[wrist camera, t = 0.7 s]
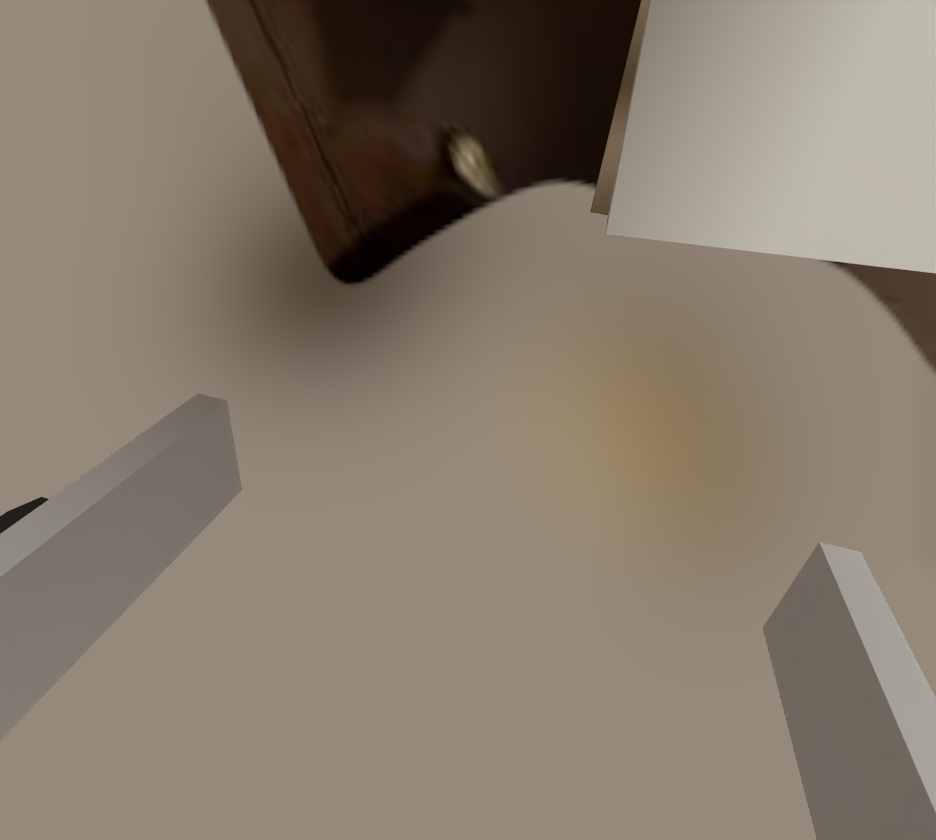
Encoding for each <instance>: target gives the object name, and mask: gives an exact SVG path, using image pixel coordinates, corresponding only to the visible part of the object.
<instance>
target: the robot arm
mask: <svg viewBox="0 0 936 840" xmlns="http://www.w3.org/2000/svg"><path fill="white" fill-rule="evenodd" d="M241 490H242V488H241V482H240V476H239V470H238V465H237V459H236V453H235V447H234V441H233V435H232V429H231V423H230V417H229V411H228V406H227V401H226V400H222V399H217V398H213V397H209V396H205V395H201V394H197V395H195V396H194V397H193V398H191V399H190V400H188V401H187V402H185V403H184V404H183V405H181V406H180V407H178V408H177V409H176V410H174V411H173V412H171V413H170V414H169V415H167V416H166V417H164V418H163V419H161V420H160V421H159V422H157V423H156V424H154V425H153V426H152V427H150V428H149V429H147V430H146V431H145V432H143V433H142V434H140V435H139V436H138V437H136V438H135V439H133V440H132V441H130V442H129V443H128V444H126V445H125V446H123V447H122V448H121V449H120V450H118V451H116V452H115V453H114V454H112V455H111V456H109V457H108V458H107V459H105V460H104V461H102V462H101V463H99V464H98V465H97V466H95V467H94V468H92V469H91V470H90V471H88V472H87V473H86V474H84V475H83V476H81V477H80V478H78V479H77V480H76V481H74V482H73V483H71V484H70V485H69V486H67V487H66V488H65V489H63V490H62V491H60V492H59V493H57V494H56V495H54V496H53V497H52V498H50V499H47V498H43V497H40V498H38V499H36V500H33V501H31V502H29V503H26V504H24V505H22V506H19V507H17V508H15V509H12V510H10V511H8V512H6V513H5V514H3V515H2V516H0V741H1V739H2V738H4V736H5V735H6V734H7V733H8V732H9V731H10V730H11V729H12V728H13V727H14V726H15V725H16V724H17V723H18V722H19V721H20V720H21V719H22V718H23V717H24V716H25V715H26V714H27V713H28V712H29V710H30V709H31V708H32V707H33V706H34V705H35V704H36V703H37V702H38V701H39V700H40V699H41V698H42V697H43V696H44V695H45V694H46V693H47V692H48V691H49V690H50V689H51V688H52V687H53V686H54V684H55V683H56V682H57V681H58V680H59V679H60V678H61V677H62V676H63V675H64V674H65V673H66V672H67V671H68V670H69V669H70V668H71V667H72V666H73V665H74V664H75V663H76V661H78V659H79V658H80V657H81V656H82V655H83V654H84V653H85V652H86V651H87V650H88V649H89V648H90V647H91V646H92V645H93V644H94V643H95V642H96V641H97V640H98V638H100V637H101V635H103V633H104V632H105V631H106V630H107V629H108V628H109V627H110V626H111V625H112V624H113V623H114V622H115V621H116V620H117V619H118V618H119V617H120V616H121V615H122V613H123V612H124V611H125V610H126V609H127V608H128V607H129V606H130V605H131V604H132V603H133V602H134V601H135V600H136V599H137V598H138V597H139V596H140V595H141V594H142V593H143V592H144V591H145V590H146V588H148V587H149V585H151V583H152V582H153V581H154V580H155V579H156V578H157V577H158V576H159V575H160V574H161V573H162V572H163V571H164V570H165V569H166V568H167V567H168V566H169V565H170V564H171V563H172V562H173V561H174V560H175V559H176V557H177V556H178V555H179V554H180V553H181V552H182V551H183V550H184V549H185V548H186V547H187V546H188V545H189V544H190V543H191V542H192V541H193V540H194V539H195V538H196V537H197V536H198V534H199V533H201V531H202V530H203V529H204V528H205V527H206V526H207V525H208V524H209V523H210V522H211V521H212V520H213V519H214V518H215V517H216V516H217V515H218V514H219V513H220V512H221V510H222V509H224V507H225V506H226V505H227V504H228V503H229V502H230V501H231V500H232V499H233V498H234V497H235V496H236V495H237V494H238V493H239V492H240V491H241ZM763 630H764V634H765V638H766V642H767V646H768V650H769V654H770V658H771V662H772V666H773V670H774V674H775V677H776V681H777V685H778V689H779V693H780V697H781V700H782V705H783V709H784V713H785V717H786V720H787V724H788V728H789V732H790V736H791V740H792V744H793V748H794V752H795V756H796V760H797V764H798V768H799V771H800V775H801V779H802V783H803V787H804V791H805V795H806V799H807V803H808V807H809V810H810V814H811V818H812V822H813V826H814V830H815V834H816V838H817V840H936V698H935V696H934V694H933V692H932V690H931V688H930V687H929V684H928V682H927V681H926V678H925V677H924V675H923V673H922V671H921V669H920V667H919V665H918V663H917V661H916V659H915V657H914V655H913V653H912V651H911V649H910V647H909V645H908V643H907V641H906V639H905V637H904V635H903V633H902V632H901V629H900V628H899V626H898V624H897V622H896V620H895V618H894V616H893V614H892V612H891V610H890V608H889V606H888V605H887V602H886V600H885V598H884V596H883V594H882V592H881V590H880V588H879V586H878V584H877V583H876V580H875V579H874V577H873V575H872V573H871V571H870V569H869V567H868V565H867V563H866V561H865V559H864V557H863V555H862V553H861V552H859V551H855V550H851V549H847V548H843V547H838V546H834V545H830V544H826V543H822V542H819V543H818V545H817V547H816V548H815V550H814V551H813V552H812V554H811V556H810V557H809V559H808V560H807V562H806V563H805V565H804V566H803V568H802V569H801V571H800V572H799V574H798V575H797V577H796V578H795V580H794V581H793V583H792V584H791V586H790V587H789V589H788V590H787V592H786V593H785V595H784V596H783V598H782V599H781V601H780V603H779V604H778V605H777V607H776V608H775V610H774V611H773V613H772V614H771V616H770V617H769V619H768V621H767V622H766V624H765V625H764V627H763Z"/></svg>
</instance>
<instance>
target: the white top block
mask: <svg viewBox="0 0 936 840" xmlns="http://www.w3.org/2000/svg"><path fill="white" fill-rule="evenodd" d="M606 235H615V236H623V237H632V238H641V239H648V240H657V241H665V242H674V243H682V244H691V245H699V246H708V247H717V248H726V249H735V250H742V251H750V252H760V253H768V254H776V255H785V256H793V257H802V258H810V259H819V260H827V261H836V262H844V263H853V264H861V265H870V266H878V267H887V268H895V269H904V270H913V271H921V272H930V273H936V0H649V4H648V9H647V15H646V20H645V25H644V30H643V35H642V41H641V46H640V51H639V56H638V62H637V67H636V72H635V77H634V82H633V88H632V93H631V98H630V103H629V108H628V114H627V119H626V124H625V129H624V135H623V140H622V145H621V150H620V155H619V161H618V166H617V171H616V176H615V181H614V187H613V192H612V197H611V202H610V208H609V213H608V220H607V229H606Z"/></svg>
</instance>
